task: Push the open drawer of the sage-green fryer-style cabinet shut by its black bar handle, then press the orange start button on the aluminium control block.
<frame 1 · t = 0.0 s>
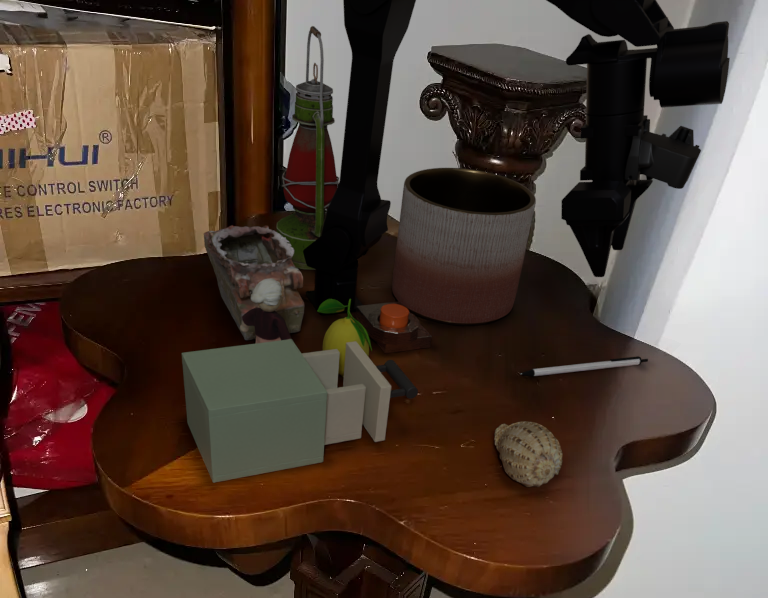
hand: (609, 262, 88), 15 cm above the table, tool pointing down, fingers open, 9 cm apart
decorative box: (241, 311, 103), on the table
planter: (451, 302, 112), on the table
pen: (584, 371, 100), on the table
grandmother figurine: (268, 383, 91), on the table
control block: (391, 332, 103), on the table
start button: (394, 316, 97), point 4 cm above the table, slide at 0.1 cm
seashell: (521, 467, 83), on the table
cabinet: (254, 442, 81), on the table
drawer: (343, 394, 82), point 4 cm above the table, slide at 6.0 cm
lantern: (308, 256, 119), on the table
lemon: (342, 377, 93), on the table
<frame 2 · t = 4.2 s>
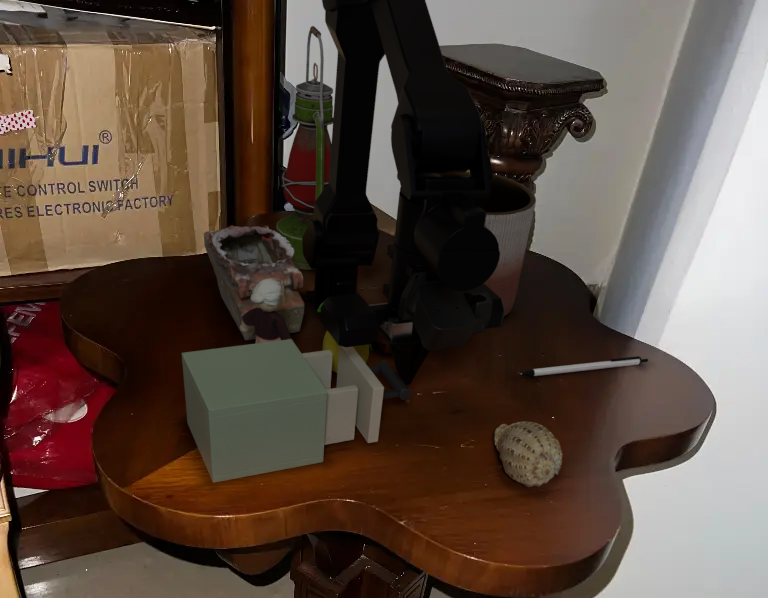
hand: (405, 383, 85), 5 cm above the table, tool pointing down, fingers closed
drawer: (336, 395, 82), point 4 cm above the table, slide at 5.2 cm, touching gripper
everything else where it was.
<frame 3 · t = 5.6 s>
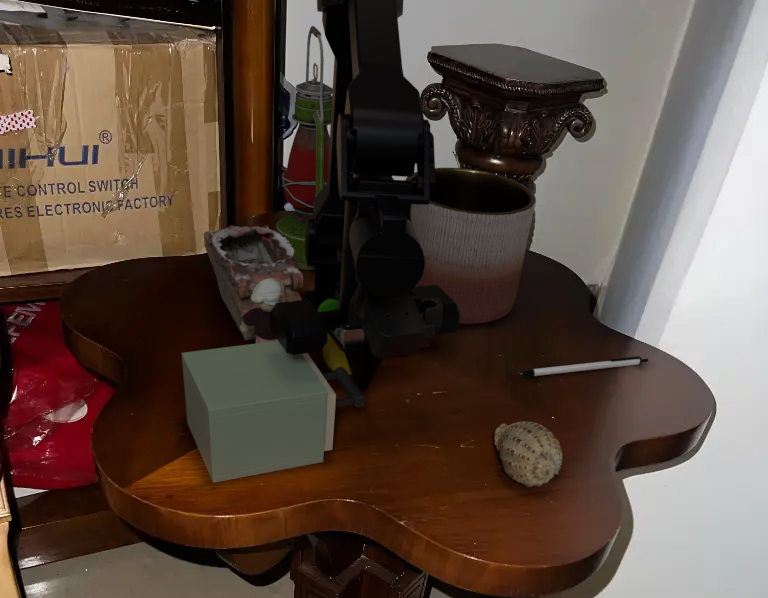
hand: (361, 390, 83), 5 cm above the table, tool pointing down, fingers closed
drawer: (289, 402, 80), point 4 cm above the table, slide at 0.0 cm, touching cabinet, gripper
everything else where it was.
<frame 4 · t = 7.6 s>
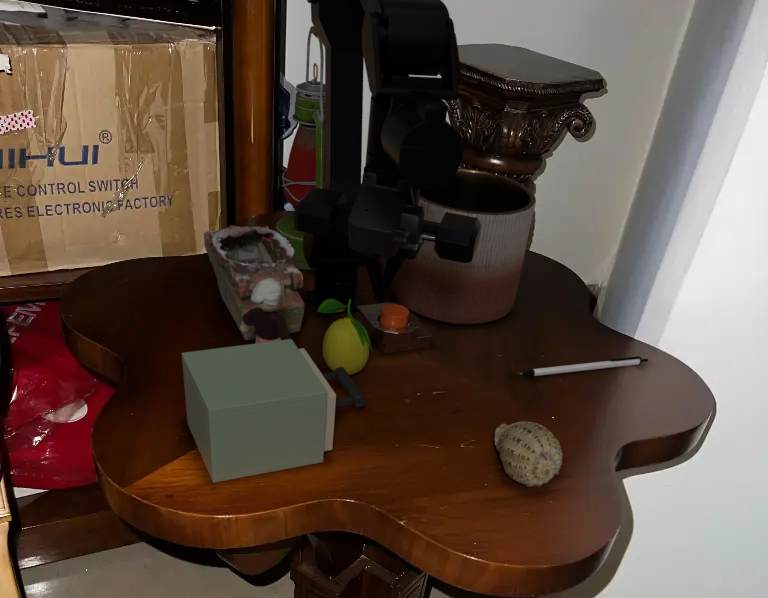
hand: (380, 300, 85), 11 cm above the table, tool pointing down, fingers closed
drawer: (289, 402, 80), point 4 cm above the table, slide at 0.0 cm, touching cabinet
everything else where it was.
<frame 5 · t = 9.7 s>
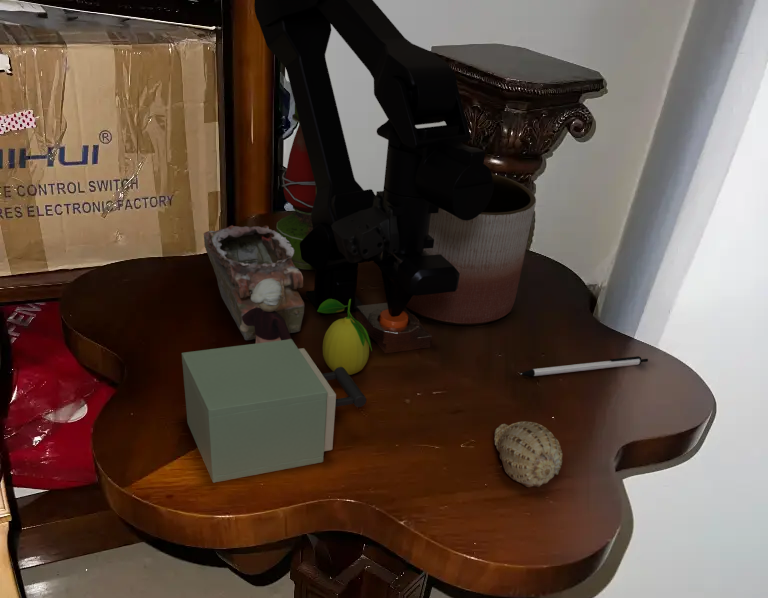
hand: (394, 315, 97), 4 cm above the table, tool pointing down, fingers closed, pressing on start button
start button: (393, 321, 98), point 3 cm above the table, slide at -0.6 cm, touching gripper
everything else where it was.
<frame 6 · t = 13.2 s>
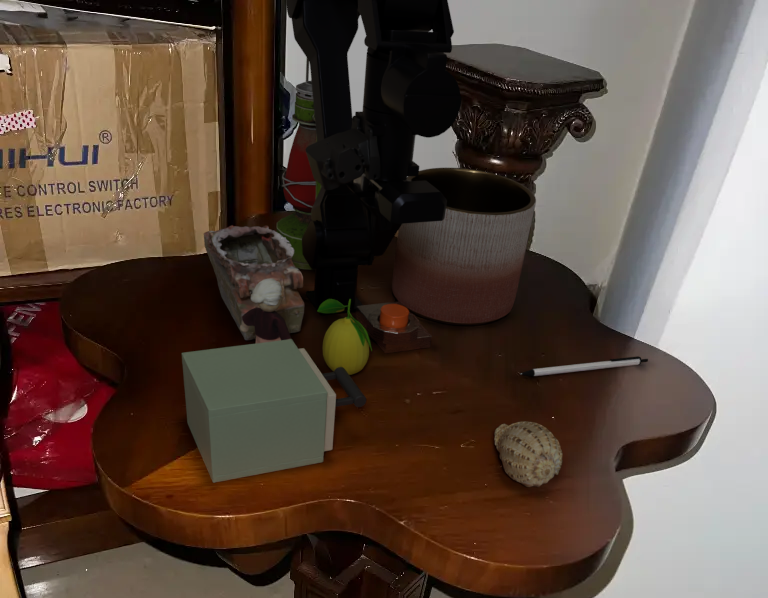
hand: (376, 254, 89), 13 cm above the table, tool pointing down, fingers closed
start button: (394, 316, 97), point 4 cm above the table, slide at 0.1 cm
everything else where it was.
at the end: drawer slide at 0.0 cm; start button pushed in 1.1 cm at the most during the clip, back to where it started at the end; start button slide at 0.1 cm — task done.
